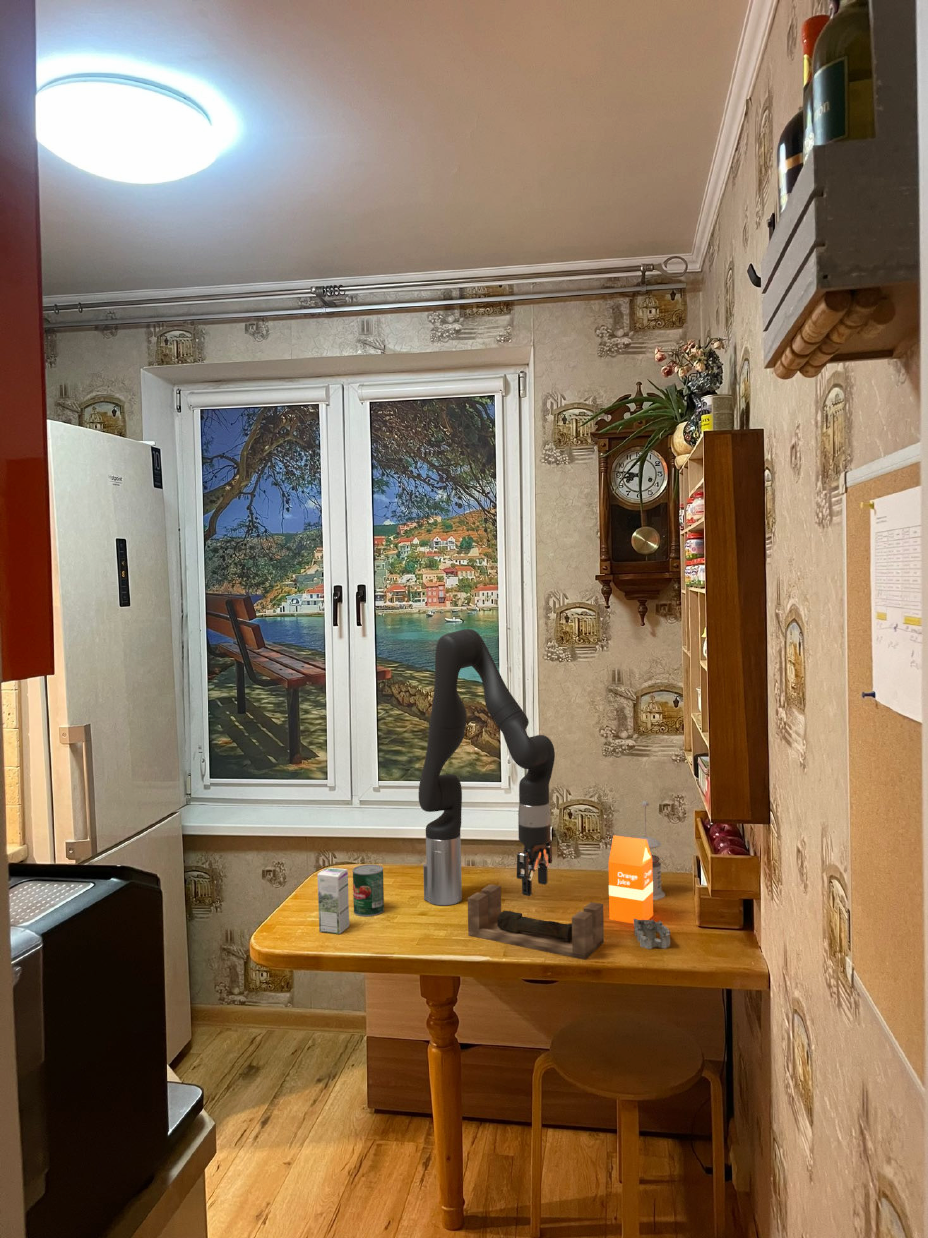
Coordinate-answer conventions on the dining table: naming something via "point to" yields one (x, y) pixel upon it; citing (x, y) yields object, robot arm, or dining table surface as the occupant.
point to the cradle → (581, 946)
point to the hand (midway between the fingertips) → (535, 889)
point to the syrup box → (333, 900)
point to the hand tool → (533, 926)
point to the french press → (654, 862)
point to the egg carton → (651, 934)
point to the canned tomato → (368, 890)
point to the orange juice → (630, 880)
